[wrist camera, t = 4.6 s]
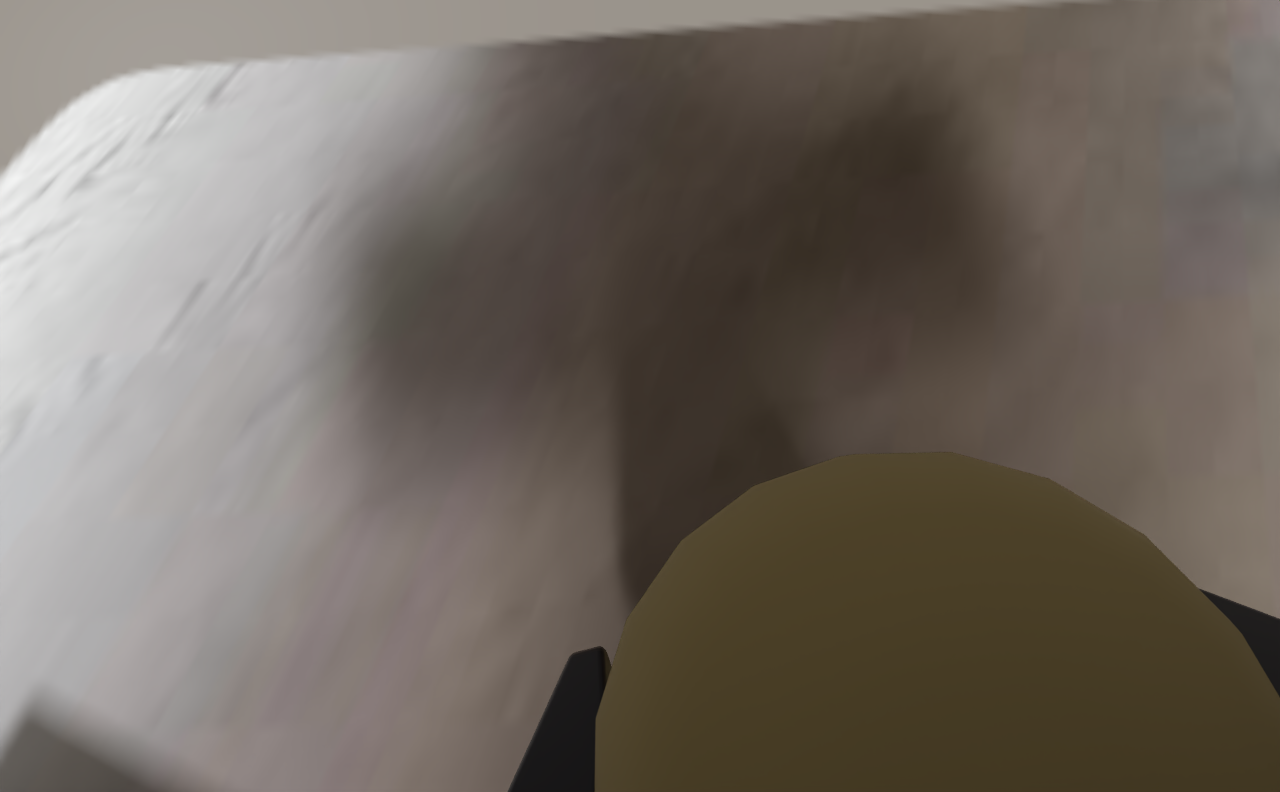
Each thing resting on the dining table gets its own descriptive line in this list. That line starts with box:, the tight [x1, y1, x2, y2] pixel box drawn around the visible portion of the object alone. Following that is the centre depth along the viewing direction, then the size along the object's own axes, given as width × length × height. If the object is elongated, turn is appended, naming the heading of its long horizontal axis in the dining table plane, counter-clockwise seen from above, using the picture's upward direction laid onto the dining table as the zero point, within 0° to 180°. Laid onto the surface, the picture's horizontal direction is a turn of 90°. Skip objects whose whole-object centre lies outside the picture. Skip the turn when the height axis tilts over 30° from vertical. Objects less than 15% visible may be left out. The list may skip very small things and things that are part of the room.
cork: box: [595, 452, 1280, 792], centre depth 10 cm, size 6×6×11 cm
